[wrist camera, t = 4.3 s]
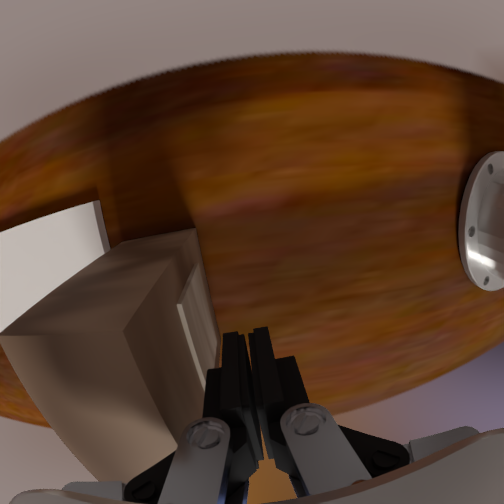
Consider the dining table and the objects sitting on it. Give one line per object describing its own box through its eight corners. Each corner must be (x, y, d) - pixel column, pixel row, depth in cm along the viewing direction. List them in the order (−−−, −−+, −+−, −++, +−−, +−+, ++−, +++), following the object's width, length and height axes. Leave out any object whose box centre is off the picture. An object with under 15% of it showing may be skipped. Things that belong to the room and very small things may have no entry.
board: (99, 199, 16) (92, 201, 15) (155, 378, 20) (152, 386, 19) (-26, 243, 16) (-33, 245, 15) (26, 375, 20) (21, 380, 19)
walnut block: (198, 227, 17) (130, 330, 6) (223, 339, 19) (215, 494, 8) (122, 241, 17) (-4, 335, 6) (154, 347, 19) (101, 484, 8)
